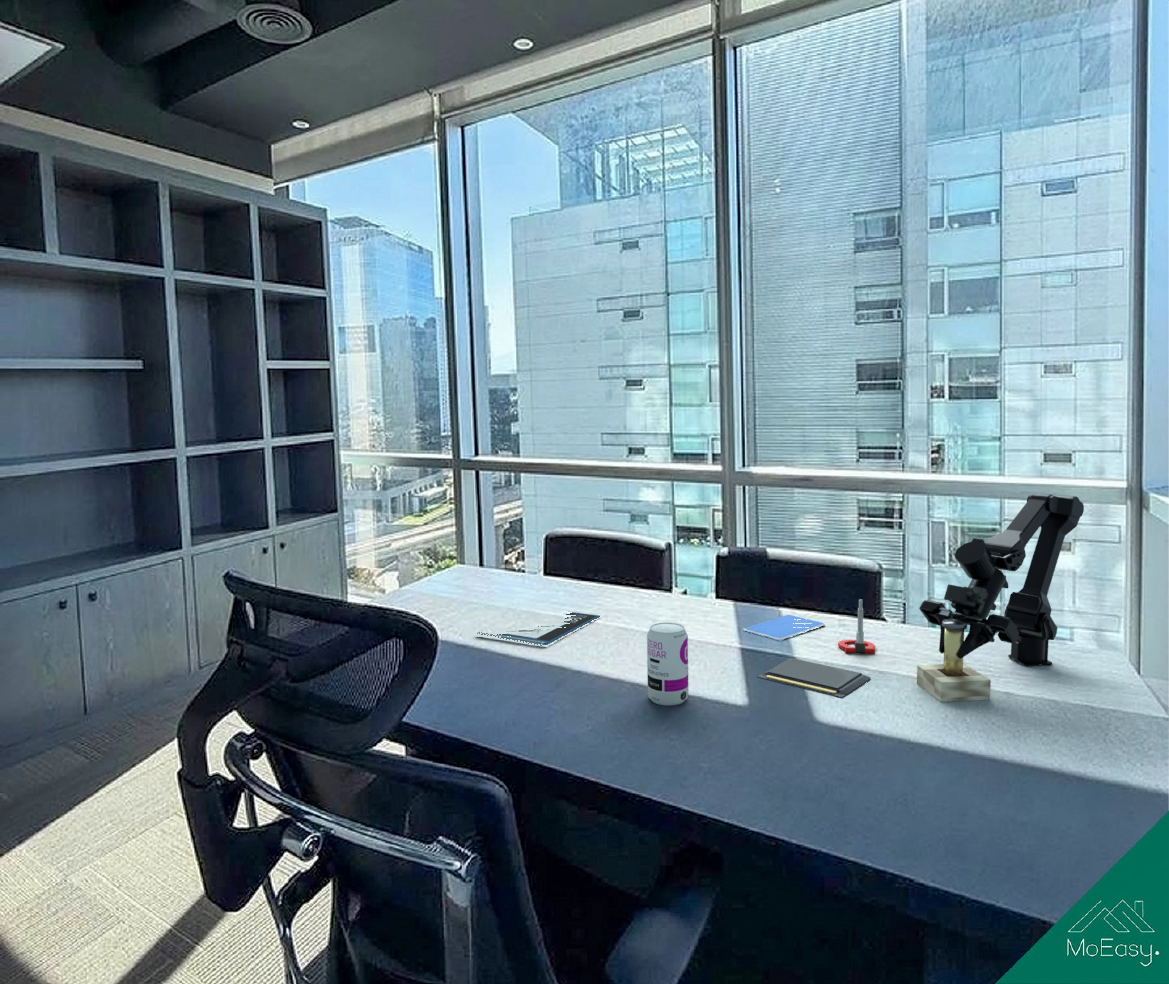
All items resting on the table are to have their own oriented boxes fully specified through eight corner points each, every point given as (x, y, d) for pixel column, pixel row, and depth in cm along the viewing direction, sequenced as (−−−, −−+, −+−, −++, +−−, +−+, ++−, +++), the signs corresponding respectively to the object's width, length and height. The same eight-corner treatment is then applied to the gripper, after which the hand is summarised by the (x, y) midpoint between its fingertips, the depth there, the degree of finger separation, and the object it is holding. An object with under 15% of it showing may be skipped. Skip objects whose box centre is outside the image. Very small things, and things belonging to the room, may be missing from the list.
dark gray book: (873, 672, 168) (841, 693, 158) (873, 681, 169) (841, 702, 158) (789, 653, 182) (754, 671, 171) (789, 661, 182) (754, 679, 172)
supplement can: (691, 693, 163) (691, 623, 161) (683, 708, 155) (682, 635, 153) (653, 689, 165) (652, 620, 164) (643, 704, 158) (642, 632, 156)
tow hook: (835, 643, 194) (841, 654, 185) (836, 592, 193) (842, 600, 184) (870, 644, 193) (879, 655, 184) (871, 592, 192) (880, 600, 183)
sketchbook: (600, 620, 220) (600, 613, 220) (544, 651, 194) (544, 643, 194) (535, 611, 230) (535, 604, 230) (473, 640, 204) (473, 632, 204)
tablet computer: (780, 643, 195) (780, 638, 195) (741, 632, 205) (741, 627, 205) (826, 628, 207) (827, 623, 207) (787, 618, 217) (787, 613, 217)
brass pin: (965, 682, 161) (967, 620, 159) (964, 690, 157) (966, 626, 155) (941, 679, 163) (943, 618, 162) (939, 686, 159) (941, 623, 158)
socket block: (962, 681, 166) (963, 663, 165) (989, 699, 156) (990, 680, 155) (916, 683, 165) (917, 665, 165) (940, 701, 155) (941, 682, 155)
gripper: (925, 562, 167) (892, 622, 163) (1013, 578, 152) (979, 644, 147) (946, 592, 172) (914, 651, 168) (1033, 610, 157) (1000, 675, 152)
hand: (949, 654), depth 159 cm, fingers closed on brass pin, 4 cm apart
